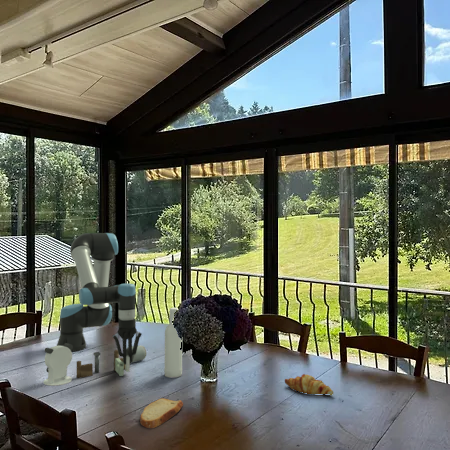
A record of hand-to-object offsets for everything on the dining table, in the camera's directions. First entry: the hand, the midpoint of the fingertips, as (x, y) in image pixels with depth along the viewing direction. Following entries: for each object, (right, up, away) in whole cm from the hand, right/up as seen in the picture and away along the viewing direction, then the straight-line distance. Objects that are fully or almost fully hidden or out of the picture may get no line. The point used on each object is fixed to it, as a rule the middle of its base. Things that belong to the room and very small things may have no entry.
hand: (127, 370), depth 200 cm
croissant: (+78, -3, -19) cm, 80 cm away
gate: (-4, -1, +1) cm, 4 cm away
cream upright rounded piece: (-28, -2, -8) cm, 29 cm away
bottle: (+21, -2, 0) cm, 21 cm away
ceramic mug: (-1, -2, +21) cm, 21 cm away
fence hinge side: (-5, -2, +7) cm, 9 cm away
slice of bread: (+22, -3, -41) cm, 47 cm away
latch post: (-15, -2, +3) cm, 15 cm away
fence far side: (-18, -2, -2) cm, 18 cm away
